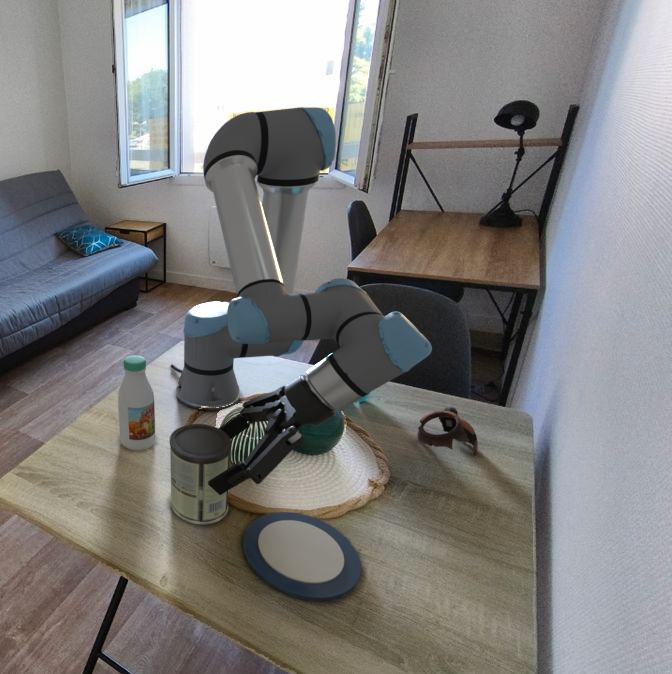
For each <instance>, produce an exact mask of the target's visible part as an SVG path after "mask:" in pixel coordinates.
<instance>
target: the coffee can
mask: <svg viewBox="0 0 672 674" xmlns="http://www.w3.org/2000/svg"><path fill="white" fill-rule="evenodd" d="M219 428H220V427H216V426H213V425H210V424H206V423H191V424H186V425H182V426H179V427H177V428H176V429H175V430H174V431H172V432H171V434H170V436H169V448H170V450H169V451H170V507H171V510H172V511H173V512H174V514H175V515H176V516H177V517H179V518H180V519H181V520H183V521H185V522H188V523H189V524H194V525H202V526H206V525H213V524H215V523H217V522H220V521H221V520H222V519H224V518H225V517H226V515H227V513H228V511H229V490H228V491H227V492H225V493H223V494H222V495H219V494H218V493H217V492H216V491H215V490H214V489H213V488H211V487H210V486H209V485H208V481H210V480H211V479H213V478H214V477H216V476H218V475H219V474H221V473H222V472H224V471H225V470H227V469H228V468H230V467H231V466H230V465H231V450H232V445H233V444H232V439H230V437H229V436H228V435H227V434H226V433H225V432H224V431H222V430H221V429H219Z"/></svg>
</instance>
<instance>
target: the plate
mask: <svg viewBox="0 0 672 674" xmlns="http://www.w3.org/2000/svg"><path fill="white" fill-rule="evenodd" d="M242 540H243V541H242V549H243V553H244V557H245V559H246V561H247V563H248V565H249V566H250V568H251V569H252V570H253V571H254V573H255V574H256V575H257V576H258V577H259V578H260V579H261V580H262V581H264V582H265V583H266V584H267V585H269V586H271V587H272V588H273V589H275V590H277V591H279V592H281V593H283V594H285V595H288V596H291V597H294V598H297V599H300V600H305V601H312V602H328V601H329V602H330V601H333V600H337V599H338V600H339V599H340V598H343V597H345V596H346V595H348V594H350V593H351V592H352V591H353V590H354V589H355V588H356V587H357V585H358V583H359V581H360V578H361V573H362V562H361V558H360V556H359V554H358V552H357V550H356V548H355V546H354V545H353V544H352V542H351V541H350V540H349V539H348V538H347V537H346V536H345V535H344V533H342V532H341V531H339V530H338V529H337V528H335V527H334V526H332V525H330V524H329V523H327V522H326V521H324V520H321V519H319V518H316V517H313V516H310V515H307V514H304V513H299V512H294V511H293V512H291V511H278V512H277V511H275V512H270V513H266V514H264V515H261V516H259V517H257V518H256V519H253V521H251V523H249V525H248V526H247V527H246V528H245V531H244V534H243V538H242Z"/></svg>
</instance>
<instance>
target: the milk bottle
mask: <svg viewBox="0 0 672 674" xmlns="http://www.w3.org/2000/svg"><path fill="white" fill-rule="evenodd" d="M123 371H124V376H123V379H122V382H121V384H120V386H119V389H118V393H117V403H118V404H117V406H118V407H117V408H118V429H119V441H120V443H121V445H122V446H123V447H124V448H127V449H129V450H131V451H143V450H147V449H149V448H151V447H152V446H153V445H154V443H155V441H156V412H155V393H154V389H153V387H152V385H151V383H150V381H149V379H148V376H147V374H146V371H147V360H146V358H145V357H144V356H141V355H129V356H127V357H125V358H124V359H123Z"/></svg>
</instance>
